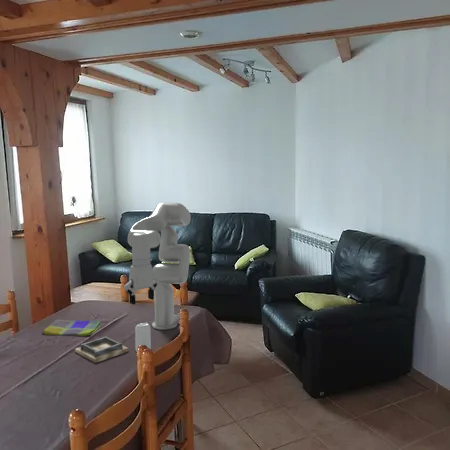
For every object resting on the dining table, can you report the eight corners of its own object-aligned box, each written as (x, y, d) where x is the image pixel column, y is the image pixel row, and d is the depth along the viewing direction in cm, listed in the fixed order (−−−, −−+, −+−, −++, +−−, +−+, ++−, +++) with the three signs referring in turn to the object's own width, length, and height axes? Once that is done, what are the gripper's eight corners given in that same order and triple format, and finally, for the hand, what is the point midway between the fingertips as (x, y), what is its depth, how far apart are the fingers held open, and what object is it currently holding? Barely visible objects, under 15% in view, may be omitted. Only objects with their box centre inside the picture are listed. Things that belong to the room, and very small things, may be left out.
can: (147, 354, 191) (147, 327, 189) (133, 352, 192) (132, 326, 191) (152, 348, 197) (152, 322, 196) (139, 347, 199) (138, 320, 197)
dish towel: (89, 338, 210) (88, 332, 210) (40, 335, 213) (39, 330, 212) (103, 325, 227) (103, 319, 227) (57, 322, 230) (57, 317, 230)
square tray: (107, 341, 205) (107, 334, 204) (128, 351, 194) (128, 343, 193) (75, 351, 193) (74, 344, 193) (95, 363, 182) (95, 354, 182)
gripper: (152, 258, 198) (152, 295, 200) (118, 263, 186) (119, 303, 188) (163, 260, 193) (163, 299, 195) (129, 266, 181) (130, 307, 183)
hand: (142, 301), depth 192 cm, fingers open, 9 cm apart
